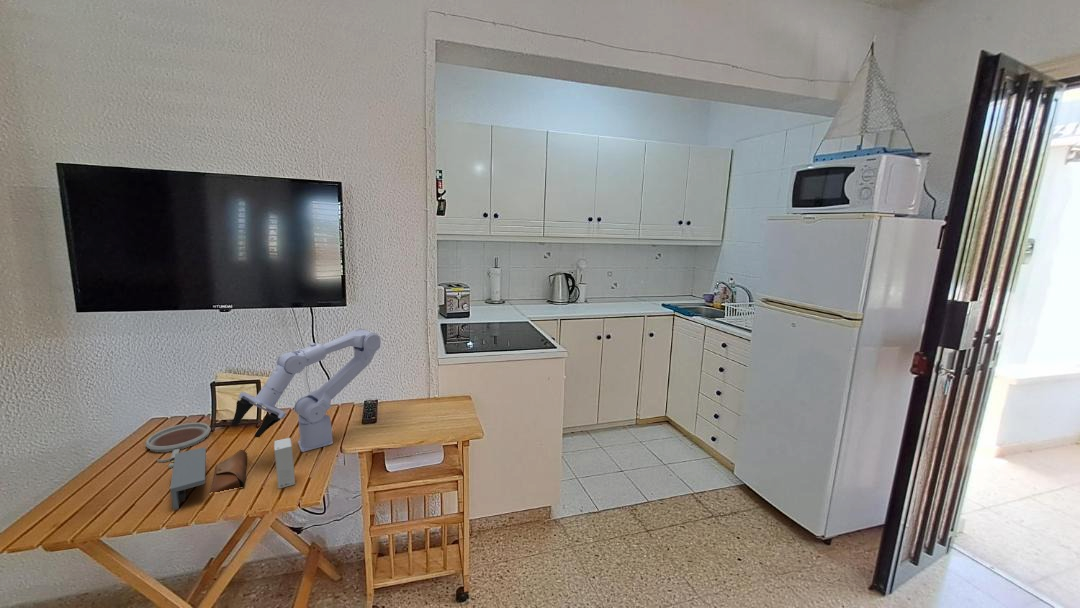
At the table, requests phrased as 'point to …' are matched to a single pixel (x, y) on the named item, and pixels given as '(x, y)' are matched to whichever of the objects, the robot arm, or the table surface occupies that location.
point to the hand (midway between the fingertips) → (245, 431)
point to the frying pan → (177, 439)
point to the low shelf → (187, 473)
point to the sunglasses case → (230, 473)
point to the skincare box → (284, 462)
